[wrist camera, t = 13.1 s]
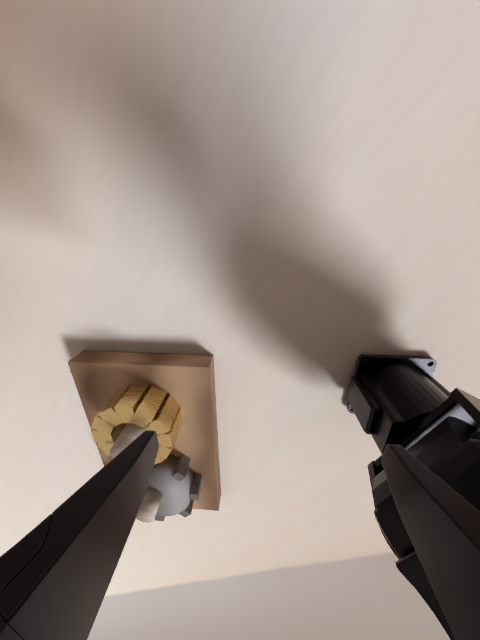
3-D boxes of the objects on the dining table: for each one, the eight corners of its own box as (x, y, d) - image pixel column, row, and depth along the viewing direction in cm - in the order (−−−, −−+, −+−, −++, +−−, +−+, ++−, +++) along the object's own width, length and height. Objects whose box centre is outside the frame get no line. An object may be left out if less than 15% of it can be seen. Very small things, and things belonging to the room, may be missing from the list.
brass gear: (178, 385, 21) (165, 409, 18) (185, 439, 23) (176, 468, 21) (104, 382, 21) (82, 405, 18) (120, 436, 24) (102, 463, 21)
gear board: (213, 355, 22) (196, 405, 16) (220, 492, 30) (211, 560, 24) (83, 350, 22) (20, 396, 16) (125, 485, 31) (93, 549, 25)
